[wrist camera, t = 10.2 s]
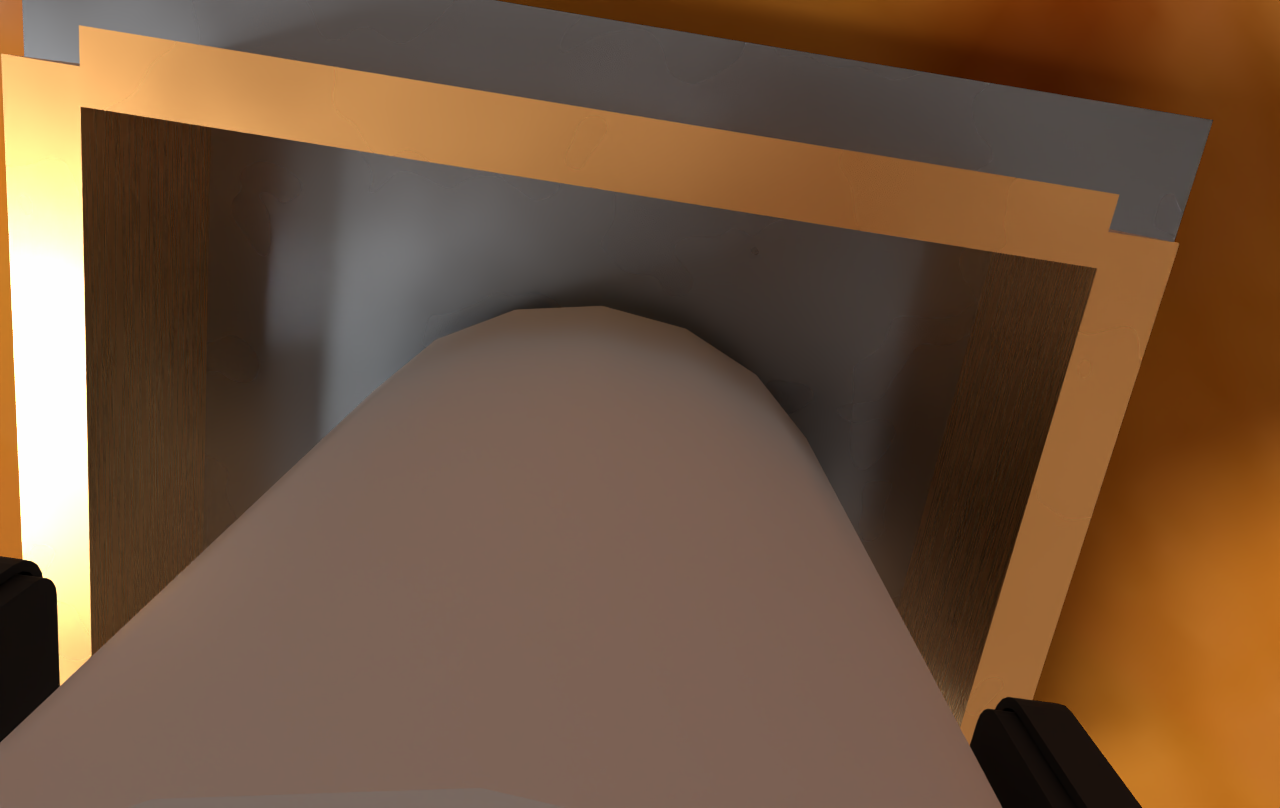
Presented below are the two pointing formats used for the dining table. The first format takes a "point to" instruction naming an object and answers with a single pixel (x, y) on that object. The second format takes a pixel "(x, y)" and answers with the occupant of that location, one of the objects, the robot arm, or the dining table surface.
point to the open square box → (570, 272)
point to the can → (521, 610)
